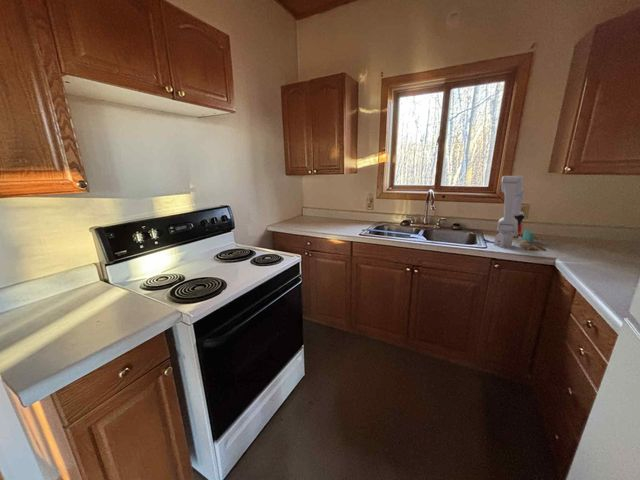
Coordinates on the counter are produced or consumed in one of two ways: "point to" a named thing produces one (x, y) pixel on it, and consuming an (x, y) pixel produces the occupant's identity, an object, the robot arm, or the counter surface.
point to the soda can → (518, 230)
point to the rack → (536, 248)
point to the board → (528, 235)
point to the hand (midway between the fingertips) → (512, 226)
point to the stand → (527, 241)
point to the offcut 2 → (526, 246)
